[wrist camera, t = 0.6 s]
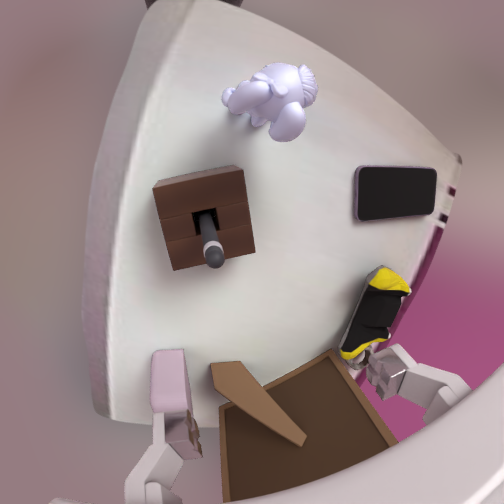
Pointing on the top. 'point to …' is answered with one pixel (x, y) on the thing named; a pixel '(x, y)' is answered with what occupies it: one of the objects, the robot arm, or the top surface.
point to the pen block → (202, 198)
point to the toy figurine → (275, 99)
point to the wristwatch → (365, 361)
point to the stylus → (210, 240)
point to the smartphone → (394, 192)
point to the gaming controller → (373, 311)
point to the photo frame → (293, 427)
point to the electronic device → (169, 382)
